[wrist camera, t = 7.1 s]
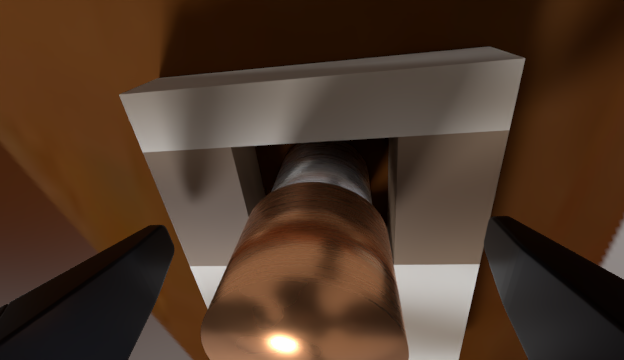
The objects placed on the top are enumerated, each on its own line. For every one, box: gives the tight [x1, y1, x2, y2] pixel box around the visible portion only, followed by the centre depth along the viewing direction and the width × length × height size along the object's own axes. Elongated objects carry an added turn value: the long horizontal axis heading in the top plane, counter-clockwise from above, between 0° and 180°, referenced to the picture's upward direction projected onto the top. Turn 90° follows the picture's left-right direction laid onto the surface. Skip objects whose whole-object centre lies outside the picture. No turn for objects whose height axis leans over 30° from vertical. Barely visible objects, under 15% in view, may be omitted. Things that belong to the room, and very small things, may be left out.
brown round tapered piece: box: [201, 140, 409, 360], centre depth 8 cm, size 4×4×6 cm
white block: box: [119, 46, 525, 360], centre depth 12 cm, size 14×10×2 cm
